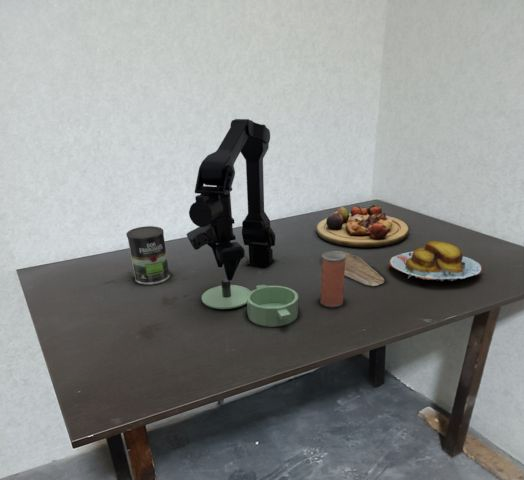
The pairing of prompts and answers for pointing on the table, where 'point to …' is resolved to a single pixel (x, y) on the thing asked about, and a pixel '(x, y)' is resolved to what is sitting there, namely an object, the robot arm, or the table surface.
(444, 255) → the food on plate
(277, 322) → the pot
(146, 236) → the coffee can
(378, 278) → the brown flat tapered piece
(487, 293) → the table surface
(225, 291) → the pot lid
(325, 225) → the wooden plate
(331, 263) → the reddish translucent cylinder
